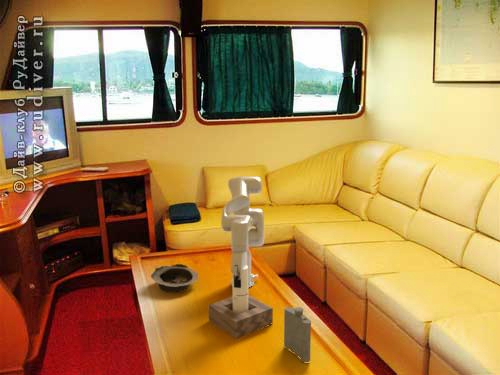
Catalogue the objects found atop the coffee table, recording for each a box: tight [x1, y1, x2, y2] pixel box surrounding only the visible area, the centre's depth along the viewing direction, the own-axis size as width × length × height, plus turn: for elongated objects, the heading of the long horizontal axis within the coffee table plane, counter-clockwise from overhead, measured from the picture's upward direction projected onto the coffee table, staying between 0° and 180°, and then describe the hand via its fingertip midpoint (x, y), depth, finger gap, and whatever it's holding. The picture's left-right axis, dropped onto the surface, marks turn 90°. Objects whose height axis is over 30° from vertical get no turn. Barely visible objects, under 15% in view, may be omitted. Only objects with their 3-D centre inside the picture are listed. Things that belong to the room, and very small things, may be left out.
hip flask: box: [283, 306, 312, 363], centre depth 203 cm, size 16×4×20 cm, turn 30°
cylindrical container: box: [231, 265, 249, 314], centre depth 228 cm, size 7×7×25 cm
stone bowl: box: [150, 263, 199, 293], centre depth 270 cm, size 25×25×9 cm
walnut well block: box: [208, 294, 274, 339], centre depth 230 cm, size 21×21×8 cm
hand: (240, 283), depth 227 cm, fingers open, 7 cm apart
